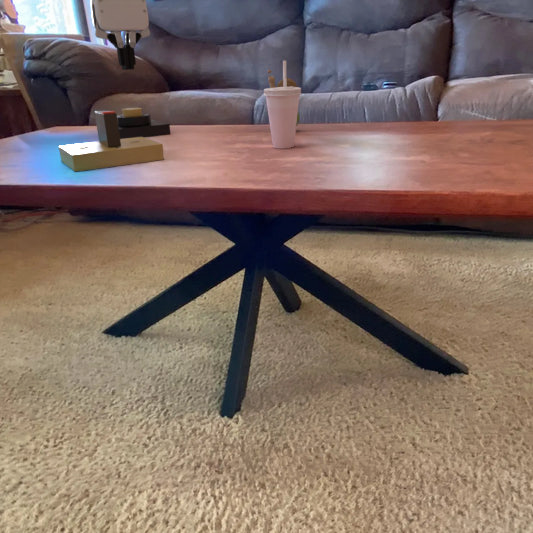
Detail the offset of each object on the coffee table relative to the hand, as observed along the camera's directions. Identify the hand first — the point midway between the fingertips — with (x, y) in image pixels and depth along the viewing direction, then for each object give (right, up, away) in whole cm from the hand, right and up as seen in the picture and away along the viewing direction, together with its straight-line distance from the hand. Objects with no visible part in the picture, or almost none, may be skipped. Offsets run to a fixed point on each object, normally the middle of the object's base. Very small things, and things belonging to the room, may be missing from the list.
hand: (128, 69), depth 103 cm
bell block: (0, -12, +5) cm, 13 cm away
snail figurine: (+32, -12, +3) cm, 34 cm away
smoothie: (+31, -19, -13) cm, 39 cm away
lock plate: (+3, -23, -20) cm, 31 cm away
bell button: (0, -9, +4) cm, 9 cm away
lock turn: (+3, -20, -21) cm, 30 cm away
